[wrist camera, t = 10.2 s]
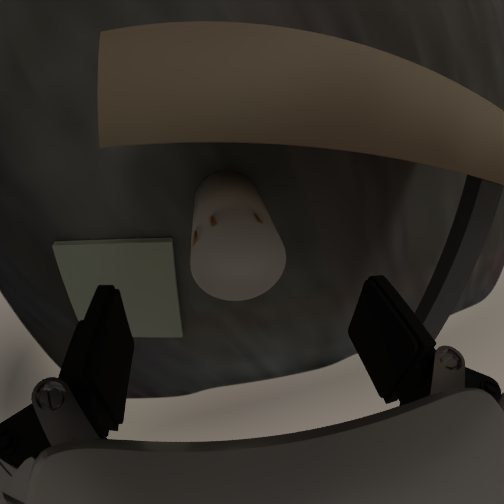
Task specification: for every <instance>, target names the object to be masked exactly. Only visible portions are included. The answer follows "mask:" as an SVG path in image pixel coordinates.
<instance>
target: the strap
mask: <svg viewBox="0 0 504 504" xmlns="http://www.w3.org/2000/svg"><path fill="white" fill-rule="evenodd" d="M503 187H504V186H503V185H501V184H498V183H495V182H492V181H488V180H485V179H482V178H478V177H475V176H471V175H467V178H466V182H465V185H464V189H463V193H462V196H461V200H460V203H459V206H458V209H457V213H456V216H455V219H454V222H453V225H452V227H451V230H450V233H449V236H448V239H447V241H446V244H445V247H444V249H443V252H442V254H441V257H440V259H439V262H438V264H437V267H436V269H435V271H434V274H433V276H432V278H431V280H430V283H429V285H428V287H427V289H426V291H425V294H424V296H423V298H422V300H421V302H420V304H419V306H418V308H417V310H416V312H415V315H416V316H417V318H418V319H419V320H420V322H421V323H422V324H423V325H424V327H425V328H426V329H427V331H428V332H429V334H430V335H431V336H432V338H433V339H434V340H435V339H436V337H437V336H438V334H439V332H440V330H441V329H442V327H443V325H444V324H445V322H446V320H447V319H448V317H449V315H450V314H451V312H452V310H453V308H454V306H455V305H456V303H457V301H458V299H459V297H460V295H461V293H462V291H463V289H464V287H465V285H466V283H467V281H468V279H469V277H470V275H471V273H472V271H473V269H474V266H475V264H476V262H477V260H478V257H479V255H480V253H481V250H482V248H483V245H484V243H485V240H486V238H487V235H488V232H489V230H490V227H491V224H492V222H493V219H494V216H495V213H496V210H497V207H498V204H499V200H500V197H501V194H502V190H503Z"/></svg>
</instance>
